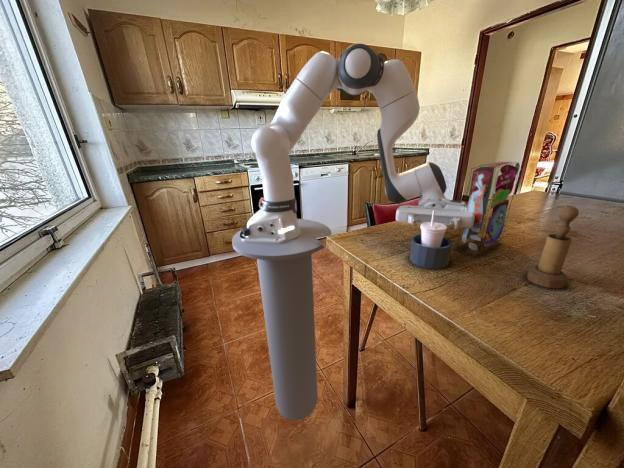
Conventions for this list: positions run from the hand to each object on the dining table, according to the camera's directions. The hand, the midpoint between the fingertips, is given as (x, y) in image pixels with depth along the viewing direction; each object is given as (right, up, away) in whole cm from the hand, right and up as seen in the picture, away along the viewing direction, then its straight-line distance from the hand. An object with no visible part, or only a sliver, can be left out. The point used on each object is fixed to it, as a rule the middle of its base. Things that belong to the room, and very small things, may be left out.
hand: (433, 224), depth 68 cm
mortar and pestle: (+22, -14, -8) cm, 27 cm away
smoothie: (0, -9, +3) cm, 10 cm away
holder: (0, -10, +4) cm, 11 cm away
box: (+22, -6, +13) cm, 26 cm away
